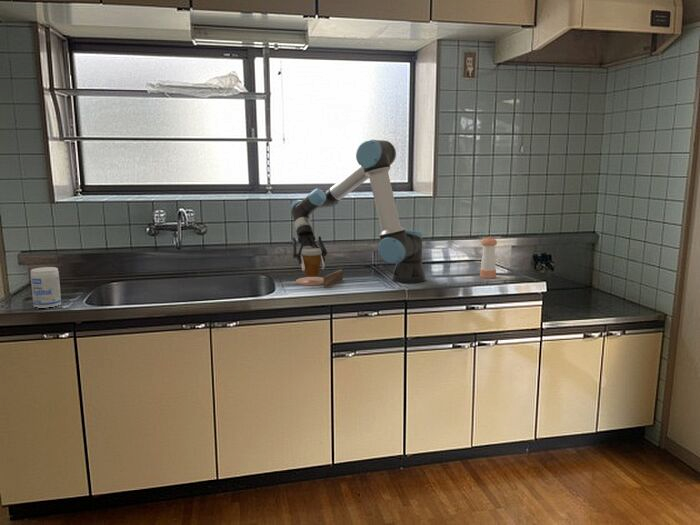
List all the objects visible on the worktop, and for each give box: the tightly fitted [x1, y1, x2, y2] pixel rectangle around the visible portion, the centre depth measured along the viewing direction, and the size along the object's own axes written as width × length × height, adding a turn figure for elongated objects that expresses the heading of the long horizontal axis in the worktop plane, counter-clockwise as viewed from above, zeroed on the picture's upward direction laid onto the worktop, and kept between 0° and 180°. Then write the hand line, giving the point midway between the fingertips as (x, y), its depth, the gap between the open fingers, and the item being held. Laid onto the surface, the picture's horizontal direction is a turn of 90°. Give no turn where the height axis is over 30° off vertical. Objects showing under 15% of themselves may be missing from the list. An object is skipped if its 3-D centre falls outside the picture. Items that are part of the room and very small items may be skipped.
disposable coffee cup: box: [301, 247, 322, 277], centre depth 251 cm, size 10×10×12 cm
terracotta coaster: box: [295, 276, 324, 286], centre depth 253 cm, size 15×15×1 cm
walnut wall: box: [323, 269, 344, 289], centre depth 248 cm, size 2×16×5 cm, turn 155°
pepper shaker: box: [479, 236, 498, 279], centre depth 259 cm, size 7×7×19 cm
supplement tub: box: [30, 266, 62, 309], centre depth 213 cm, size 10×10×15 cm
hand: (313, 268), depth 249 cm, fingers closed on disposable coffee cup, 8 cm apart
